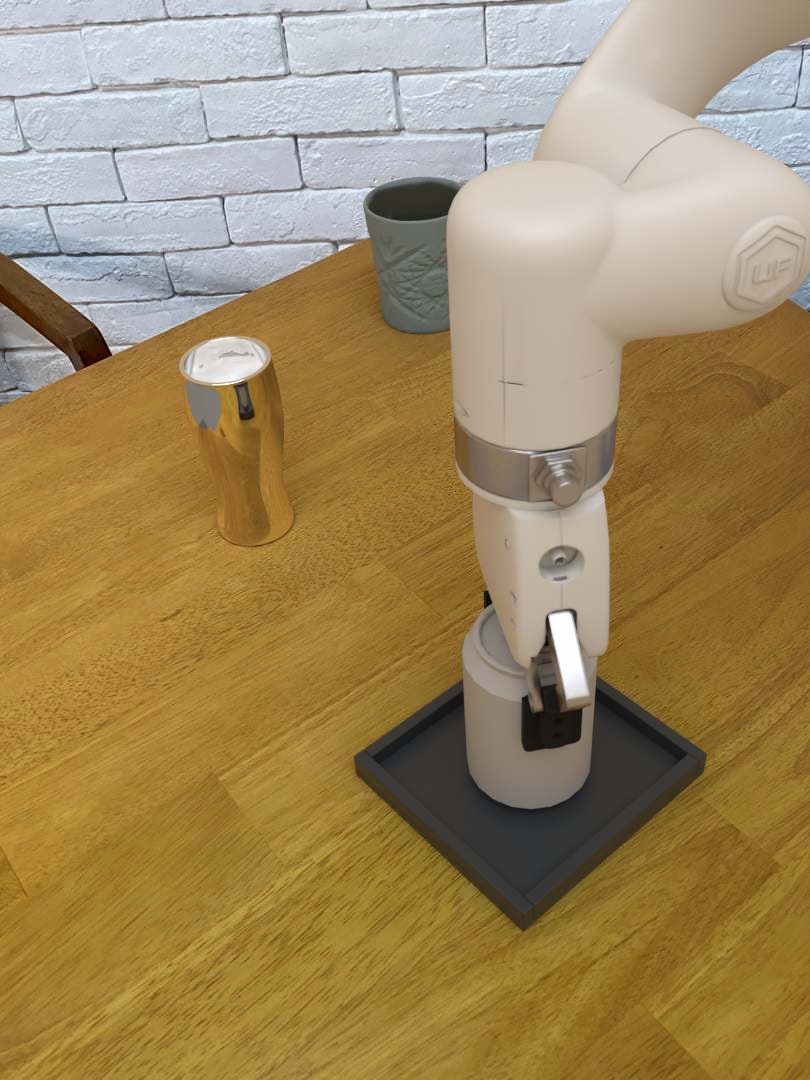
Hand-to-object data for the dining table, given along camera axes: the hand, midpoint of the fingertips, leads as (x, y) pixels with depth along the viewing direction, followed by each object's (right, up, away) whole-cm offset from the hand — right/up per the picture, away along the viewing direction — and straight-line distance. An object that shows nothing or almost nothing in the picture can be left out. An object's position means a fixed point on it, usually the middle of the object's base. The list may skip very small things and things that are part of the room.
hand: (530, 686), depth 64 cm
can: (0, -6, +5) cm, 8 cm away
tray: (0, -6, +5) cm, 8 cm away
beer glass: (-19, +10, +25) cm, 33 cm away
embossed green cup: (-5, +31, +49) cm, 58 cm away
